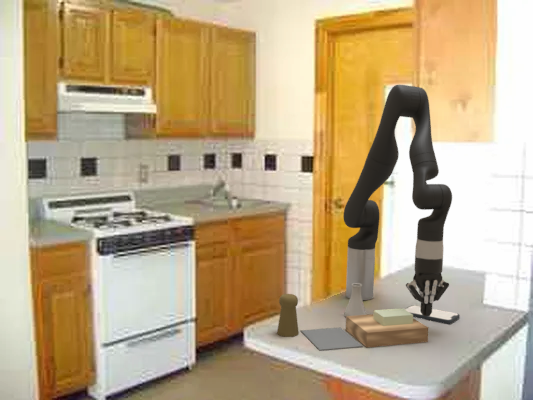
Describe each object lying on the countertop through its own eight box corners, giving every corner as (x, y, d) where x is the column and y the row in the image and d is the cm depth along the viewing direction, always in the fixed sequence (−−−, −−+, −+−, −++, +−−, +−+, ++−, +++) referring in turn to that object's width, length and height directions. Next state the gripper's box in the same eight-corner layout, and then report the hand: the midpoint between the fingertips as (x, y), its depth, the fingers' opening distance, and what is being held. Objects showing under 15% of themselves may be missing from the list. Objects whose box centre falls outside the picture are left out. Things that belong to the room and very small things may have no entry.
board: (345, 329, 169) (346, 316, 168) (402, 325, 173) (403, 311, 173) (366, 347, 155) (367, 332, 155) (427, 341, 160) (428, 327, 160)
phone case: (399, 315, 184) (450, 326, 174) (400, 310, 184) (450, 320, 174) (411, 309, 191) (460, 318, 181) (412, 304, 191) (461, 313, 181)
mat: (300, 331, 166) (300, 330, 166) (340, 328, 170) (340, 327, 170) (319, 350, 152) (319, 349, 152) (362, 347, 155) (362, 345, 155)
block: (373, 318, 166) (373, 310, 166) (402, 316, 168) (402, 308, 168) (383, 325, 160) (383, 317, 160) (412, 323, 163) (413, 314, 162)
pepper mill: (291, 338, 161) (292, 299, 159) (273, 334, 164) (273, 295, 163) (302, 332, 166) (303, 294, 165) (283, 328, 169) (284, 290, 168)
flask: (369, 314, 183) (370, 282, 182) (365, 321, 177) (366, 288, 175) (346, 311, 186) (347, 280, 185) (341, 318, 179) (342, 286, 178)
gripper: (442, 251, 170) (439, 309, 172) (401, 253, 167) (398, 312, 169) (457, 257, 163) (454, 317, 165) (414, 259, 160) (411, 321, 162)
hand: (425, 315), depth 167 cm, fingers closed
